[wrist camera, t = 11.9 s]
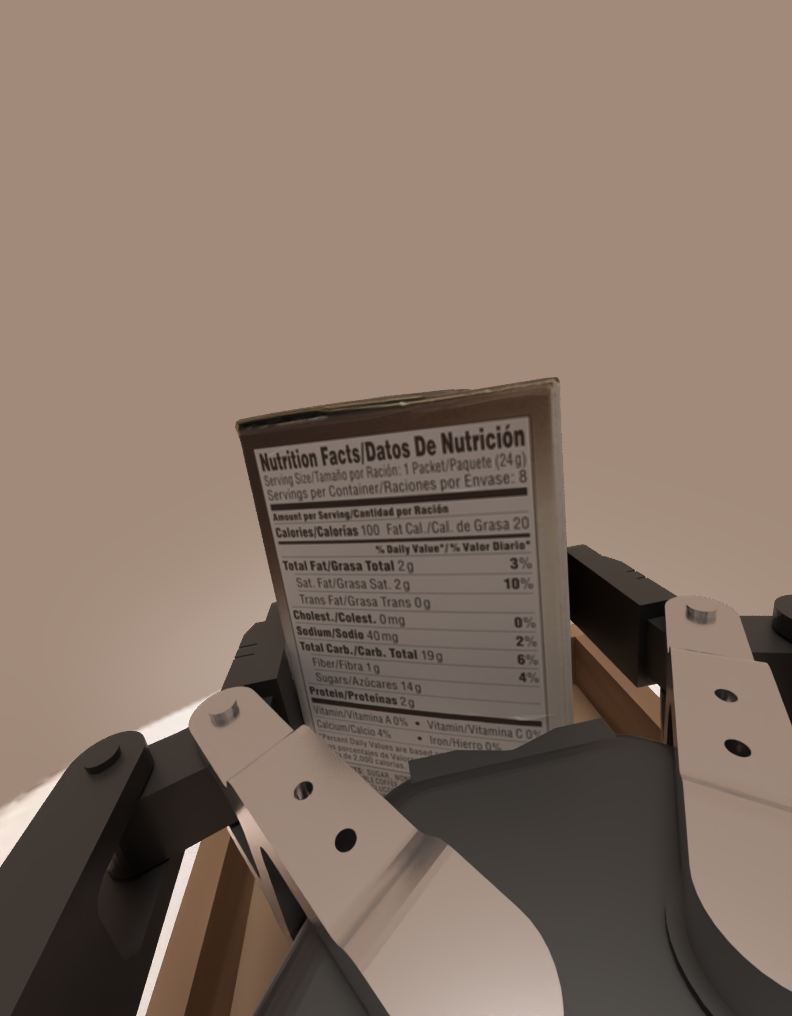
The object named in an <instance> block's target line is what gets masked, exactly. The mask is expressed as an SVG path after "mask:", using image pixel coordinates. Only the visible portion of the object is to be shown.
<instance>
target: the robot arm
mask: <svg viewBox="0 0 792 1016" xmlns="http://www.w3.org/2000/svg"><path fill="white" fill-rule="evenodd" d="M567 563H568V586H569V607H570V620H571V621H572V622H573V623H574V624H575V625H576V626H577V627H578V628H579V629H580V630H581V631H582V632H583V633H584V634H585V635H586V636H587V637H588V638H589V639H590V640H591V641H592V642H593V643H594V644H595V645H596V646H597V647H598V648H599V650H600V651H601V652H602V653H603V654H604V655H605V656H606V657H607V658H608V659H609V660H610V661H611V662H612V663H613V664H614V665H615V666H616V667H617V668H618V669H619V670H620V671H621V672H622V673H623V674H624V675H625V676H626V677H627V678H628V679H629V680H630V681H631V682H632V683H633V684H634V685H635V686H636V687H637V688H639V687H644V686H648V685H653V684H658V685H659V686H660V721H661V742H659V741H655V740H652V739H648V738H644V737H639V736H634V735H627V734H614V733H613V732H612V730H611V729H610V728H609V726H608V725H607V724H606V723H605V721H604V720H603V719H602V718H598V719H593V720H589V721H584V722H580V723H575V724H571V725H566V726H562V727H558V728H554V729H552V730H550V731H549V732H547V733H545V734H543V735H541V736H539V737H537V738H535V739H533V740H531V741H529V742H527V743H525V744H524V745H522V746H520V747H518V748H516V749H513V750H455V751H450V752H446V753H441V754H437V755H432V756H428V757H423V758H419V759H414V760H410V761H408V764H409V770H410V776H411V779H409V780H407V781H405V782H403V783H402V784H400V785H399V786H397V787H396V788H394V789H393V790H391V791H390V792H389V793H388V794H386V795H385V796H384V797H382V796H381V795H380V794H379V793H378V792H377V791H376V790H375V789H374V788H373V787H372V786H371V785H370V784H368V783H367V782H366V781H365V780H364V779H363V778H362V777H361V776H360V775H359V774H358V773H357V772H356V771H355V770H354V769H353V768H352V767H350V766H349V765H348V764H347V763H346V762H345V761H344V760H343V759H342V758H341V757H340V756H339V755H338V754H337V753H336V752H335V751H333V750H332V749H331V748H330V747H329V746H328V745H327V744H326V743H325V742H324V741H323V740H322V739H321V738H320V737H319V736H318V735H317V734H315V733H314V732H313V731H312V730H311V729H310V728H309V727H308V726H306V725H305V724H304V720H303V715H302V711H301V707H300V702H299V698H298V693H297V689H296V684H295V680H294V676H293V671H292V667H291V662H290V658H289V654H288V649H287V645H286V640H285V636H284V631H283V627H282V623H281V618H280V614H279V609H278V605H277V602H275V603H272V604H271V607H270V609H269V612H268V616H267V618H266V621H264V622H259V623H255V624H254V625H253V626H252V627H251V628H250V629H249V630H248V631H247V632H246V634H245V635H244V637H243V639H242V641H241V644H240V646H239V649H238V651H237V653H236V656H235V660H233V663H232V665H231V668H230V670H229V672H228V675H227V677H226V680H225V682H224V684H223V687H222V689H221V691H220V692H218V693H216V694H214V695H212V696H211V697H209V698H208V699H206V700H205V701H204V702H203V703H202V704H200V705H199V706H198V707H197V709H196V710H195V711H194V713H193V714H192V716H191V718H190V720H189V727H188V728H186V729H184V730H182V731H180V732H178V733H176V734H173V735H171V736H169V737H167V738H164V739H162V740H160V741H157V742H155V743H153V744H150V745H147V743H146V740H145V738H144V736H143V735H142V734H141V733H139V732H137V731H126V732H121V733H117V734H114V735H112V736H109V737H107V738H105V739H103V740H101V741H99V742H98V743H96V744H94V745H93V746H91V747H90V748H88V749H87V750H86V751H84V752H83V753H82V754H81V755H79V756H78V757H77V758H76V759H75V760H74V761H73V762H72V763H71V764H70V766H69V767H68V768H67V769H66V771H65V772H64V774H63V775H62V777H61V778H60V780H59V781H58V783H57V784H56V786H55V787H54V789H53V790H52V791H51V793H50V794H49V796H48V797H47V799H46V800H45V802H44V803H43V805H42V806H41V808H40V809H39V811H38V812H37V814H36V815H35V817H34V818H33V820H32V821H31V823H30V824H29V826H28V827H27V828H26V830H25V831H24V833H23V834H22V836H21V837H20V839H19V840H18V842H17V843H16V845H15V846H14V848H13V849H12V851H11V852H10V854H9V855H8V857H7V858H6V860H5V861H4V862H3V864H2V865H1V867H0V1016H136V1014H137V1011H138V1008H139V1004H140V1001H141V998H142V994H143V991H144V987H145V984H146V981H147V977H148V974H149V970H150V967H151V964H152V960H153V957H154V954H155V950H156V947H157V943H158V940H159V937H160V933H161V930H162V927H163V923H164V920H165V916H166V913H167V910H168V906H169V903H170V900H171V896H172V893H173V889H174V886H175V883H176V879H177V876H178V873H179V869H180V866H181V862H182V859H183V856H184V852H185V849H187V848H189V847H191V846H193V845H194V844H196V843H198V842H200V841H202V840H204V839H205V838H207V837H209V836H211V835H213V834H215V833H216V832H218V831H220V830H222V829H224V828H226V827H227V830H228V832H229V833H230V835H231V837H232V839H233V840H234V842H235V844H236V846H237V847H238V849H239V851H240V853H241V854H242V856H243V858H244V860H245V861H246V863H247V865H248V867H249V868H250V870H251V872H252V874H253V875H254V877H255V879H256V881H257V882H258V884H259V886H260V888H261V889H262V891H263V893H264V895H265V897H266V899H267V901H268V903H269V905H270V907H271V909H272V911H273V914H274V916H275V918H276V920H277V922H278V925H279V927H280V929H281V931H282V933H283V935H284V937H285V939H286V941H287V942H288V944H289V946H290V949H289V950H288V952H287V954H286V956H285V957H284V959H283V961H282V963H281V964H280V966H279V968H278V970H277V971H276V973H275V975H274V977H273V978H272V980H271V982H270V984H269V985H268V987H267V989H266V990H265V992H264V994H263V996H262V997H261V999H260V1001H259V1003H258V1004H257V1006H256V1008H255V1010H254V1011H253V1013H252V1015H251V1016H792V595H786V596H782V597H779V598H777V599H776V600H775V603H774V609H773V616H739V614H738V613H737V612H736V611H735V610H734V609H733V608H732V607H730V606H728V605H726V604H724V603H722V602H720V601H717V600H714V599H710V598H706V597H700V596H679V597H677V596H676V595H674V594H672V593H671V592H669V591H668V590H666V589H665V588H663V587H661V586H660V585H658V584H657V583H655V582H653V581H652V580H650V579H648V578H645V576H644V575H642V574H640V573H639V572H637V571H636V572H635V570H634V569H632V568H631V567H629V566H628V565H626V564H624V563H623V562H621V561H618V560H615V559H612V558H608V557H605V556H601V555H600V554H598V553H597V552H595V551H594V550H592V549H591V548H589V547H587V546H586V545H576V546H571V547H567Z"/></svg>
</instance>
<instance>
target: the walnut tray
mask: <svg viewBox="0 0 792 1016" xmlns="http://www.w3.org/2000/svg"><path fill="white" fill-rule="evenodd" d="M570 634H571V663H572V690H573V711H574V724H575V723H580V722H584V721H589V720H593V719H598V718H602V719H603V720H604V721H605V723H606V724H607V725H608V726H609V728H610V729H611V730H612V732H613V733H614V734H627V735H634V736H639V737H644V738H648V739H652V740H655V741H659V742H661V721H660V698H659V697H658V696H657V695H656V694H655V693H654V692H653V691H652V690H651V689H650V688H649V687H648V686H644V687H639V688H637V687H636V686H635V685H634V684H633V683H632V682H631V681H630V680H629V679H628V678H627V677H626V676H625V675H624V674H623V673H622V672H621V671H620V670H619V669H618V668H617V667H616V666H615V665H614V664H613V663H612V662H611V661H610V660H609V659H608V658H607V657H606V656H605V655H604V654H603V653H602V652H601V651H600V650H599V648H598V647H597V646H596V645H595V644H594V643H593V642H592V641H591V640H590V639H589V638H588V637H587V636H586V635H585V634H584V633H583V632H582V631H581V630H580V629H579V628H578V627H577V626H576V625H575V624H572V625H570ZM289 949H290V946H289V944H288V942H287V941H286V939H285V937H284V935H283V933H282V931H281V929H280V927H279V925H278V922H277V920H276V918H275V916H274V914H273V911H272V909H271V907H270V905H269V903H268V901H267V899H266V897H265V895H264V893H263V891H262V889H261V888H260V886H259V884H258V882H257V881H256V879H255V877H254V875H253V874H252V872H251V870H250V868H249V867H248V865H247V863H246V861H245V860H244V858H243V856H242V854H241V853H240V851H239V849H238V847H237V846H236V844H235V842H234V840H233V839H232V837H231V835H230V833H229V832H228V830H227V827H226V828H224V829H222V830H220V831H218V832H216V833H215V834H213V835H211V836H209V837H207V838H205V839H204V840H202V841H201V843H200V846H199V849H198V852H197V855H196V859H195V862H194V865H193V868H192V871H191V874H190V877H189V881H188V884H187V887H186V890H185V893H184V896H183V899H182V903H181V906H180V909H179V912H178V915H177V918H176V921H175V925H174V928H173V931H172V934H171V937H170V940H169V943H168V946H167V950H166V953H165V956H164V959H163V962H162V965H161V968H160V972H159V975H158V978H157V981H156V984H155V987H154V990H153V994H152V997H151V1000H150V1003H149V1006H148V1009H147V1012H146V1016H251V1015H252V1013H253V1011H254V1010H255V1008H256V1006H257V1004H258V1003H259V1001H260V999H261V997H262V996H263V994H264V992H265V990H266V989H267V987H268V985H269V984H270V982H271V980H272V978H273V977H274V975H275V973H276V971H277V970H278V968H279V966H280V964H281V963H282V961H283V959H284V957H285V956H286V954H287V952H288V950H289Z"/></svg>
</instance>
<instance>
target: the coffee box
mask: <svg viewBox="0 0 792 1016" xmlns="http://www.w3.org/2000/svg"><path fill="white" fill-rule="evenodd" d="M235 428H236V430H237V433H238V435H239V438H240V441H241V445H242V449H243V454H244V459H245V463H246V467H247V472H248V476H249V480H250V485H251V489H252V493H253V498H254V503H255V507H256V512H257V515H258V520H259V525H260V529H261V533H262V538H263V543H264V547H265V551H266V556H267V560H268V564H269V569H270V574H271V578H272V583H273V587H274V592H275V595H276V600H277V605H278V609H279V614H280V618H281V623H282V627H283V631H284V636H285V640H286V645H287V649H288V654H289V658H290V662H291V667H292V671H293V676H294V680H295V684H296V689H297V693H298V698H299V702H300V707H301V711H302V715H303V720H304V724H305V725H306V726H308V727H309V728H310V729H311V730H312V731H313V732H314V733H315V734H317V735H318V736H319V737H320V738H321V739H322V740H323V741H324V742H325V743H326V744H327V745H328V746H329V747H330V748H331V749H332V750H333V751H335V752H336V753H337V754H338V755H339V756H340V757H341V758H342V759H343V760H344V761H345V762H346V763H347V764H348V765H349V766H350V767H352V768H353V769H354V770H355V771H356V772H357V773H358V774H359V775H360V776H361V777H362V778H363V779H364V780H365V781H366V782H367V783H368V784H370V785H371V786H372V787H373V788H374V789H375V790H376V791H377V792H378V793H379V794H380V795H381V796H382V797H384V796H385V795H386V794H388V793H389V792H390V791H391V790H393V789H394V788H396V787H397V786H399V785H400V784H402V783H403V782H405V781H407V780H409V779H411V776H410V770H409V764H408V761H410V760H414V759H419V758H423V757H428V756H432V755H437V754H441V753H446V752H450V751H455V750H513V749H516V748H518V747H520V746H522V745H524V744H525V743H527V742H529V741H531V740H533V739H535V738H537V737H539V736H541V735H543V734H545V733H547V732H549V731H550V730H552V729H554V728H558V727H562V726H566V725H571V724H574V711H573V690H572V663H571V634H570V607H569V586H568V563H567V540H566V517H565V495H564V474H563V455H562V454H563V453H562V433H561V413H560V381H559V379H558V378H557V377H553V378H543V379H537V380H531V381H525V382H519V383H513V384H506V385H500V386H494V387H488V388H482V389H476V390H469V389H459V390H454V389H452V390H440V391H432V392H422V393H414V394H403V395H394V396H384V397H378V398H371V399H365V400H357V401H349V402H341V403H334V404H327V405H320V406H314V407H307V408H301V409H295V410H289V411H283V412H277V413H271V414H266V415H261V416H256V417H250V418H245V419H241V420H239V421H237V422H236V426H235Z"/></svg>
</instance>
